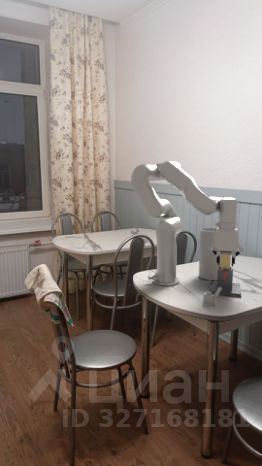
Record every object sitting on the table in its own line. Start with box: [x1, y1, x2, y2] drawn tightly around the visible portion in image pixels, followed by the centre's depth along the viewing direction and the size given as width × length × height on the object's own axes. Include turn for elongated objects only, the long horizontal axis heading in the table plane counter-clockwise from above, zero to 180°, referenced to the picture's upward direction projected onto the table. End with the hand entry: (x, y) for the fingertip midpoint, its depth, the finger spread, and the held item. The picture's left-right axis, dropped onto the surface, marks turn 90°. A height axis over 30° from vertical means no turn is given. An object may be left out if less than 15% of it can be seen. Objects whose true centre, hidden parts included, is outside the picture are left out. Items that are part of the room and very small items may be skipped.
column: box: [220, 251, 233, 270], centre depth 153 cm, size 5×5×17 cm
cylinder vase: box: [198, 227, 221, 281], centre depth 172 cm, size 12×12×25 cm
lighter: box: [202, 287, 222, 307], centre depth 138 cm, size 7×2×8 cm, turn 61°
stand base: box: [207, 266, 242, 298], centre depth 154 cm, size 14×14×11 cm
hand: (225, 264), depth 152 cm, fingers open, 5 cm apart
